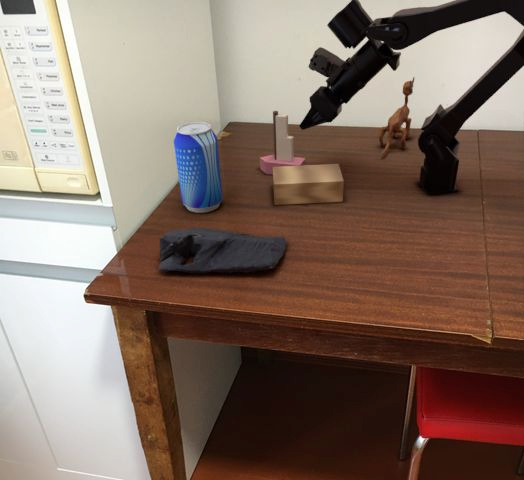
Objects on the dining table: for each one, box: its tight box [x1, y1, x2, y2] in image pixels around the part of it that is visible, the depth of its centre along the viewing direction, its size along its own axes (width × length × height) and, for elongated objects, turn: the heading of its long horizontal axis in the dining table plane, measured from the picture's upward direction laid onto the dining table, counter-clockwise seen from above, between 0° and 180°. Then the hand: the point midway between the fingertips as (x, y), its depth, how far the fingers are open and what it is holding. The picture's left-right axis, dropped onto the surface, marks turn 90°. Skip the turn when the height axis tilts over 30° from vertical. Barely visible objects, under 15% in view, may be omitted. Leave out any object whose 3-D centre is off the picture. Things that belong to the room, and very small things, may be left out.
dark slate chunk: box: [157, 227, 288, 274], centre depth 105 cm, size 15×22×5 cm
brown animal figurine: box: [378, 76, 415, 156], centre depth 140 cm, size 18×7×14 cm, turn 153°
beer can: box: [173, 121, 224, 214], centre depth 119 cm, size 8×8×16 cm
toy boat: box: [259, 110, 307, 176], centre depth 131 cm, size 10×4×13 cm, turn 70°
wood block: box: [272, 163, 345, 206], centre depth 124 cm, size 14×9×4 cm, turn 91°
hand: (307, 120), depth 126 cm, fingers open, 9 cm apart
